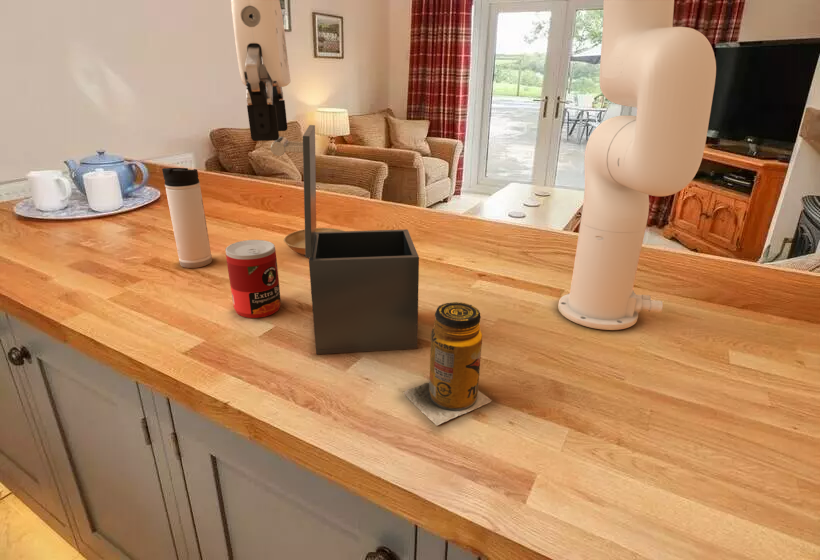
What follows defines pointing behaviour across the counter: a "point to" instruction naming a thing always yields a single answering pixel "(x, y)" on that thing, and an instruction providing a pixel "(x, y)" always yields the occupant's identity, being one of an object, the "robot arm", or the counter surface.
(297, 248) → the plant saucer
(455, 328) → the condiment
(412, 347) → the bin
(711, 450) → the counter surface
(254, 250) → the canned food
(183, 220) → the travel mug
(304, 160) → the lid
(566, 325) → the counter surface
